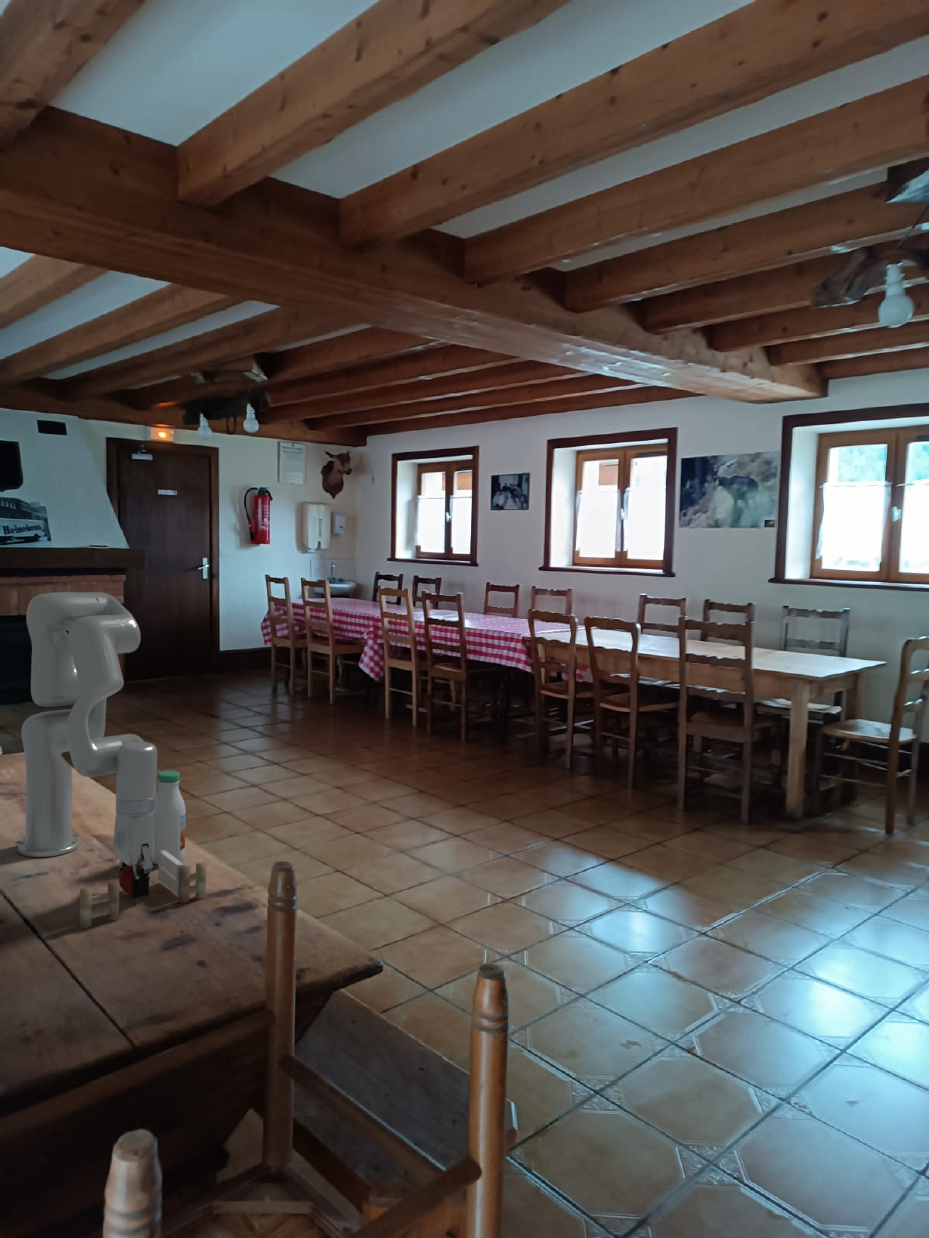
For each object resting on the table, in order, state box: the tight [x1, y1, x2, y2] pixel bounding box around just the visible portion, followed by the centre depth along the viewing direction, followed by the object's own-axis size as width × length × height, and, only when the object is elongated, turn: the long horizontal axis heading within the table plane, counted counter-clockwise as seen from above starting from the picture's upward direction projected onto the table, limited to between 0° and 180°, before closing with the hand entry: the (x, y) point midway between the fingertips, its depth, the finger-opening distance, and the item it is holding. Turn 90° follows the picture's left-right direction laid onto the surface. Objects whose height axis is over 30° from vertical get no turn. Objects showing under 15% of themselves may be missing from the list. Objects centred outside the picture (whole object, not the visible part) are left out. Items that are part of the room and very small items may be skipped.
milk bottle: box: [152, 770, 187, 866], centre depth 192 cm, size 8×8×20 cm
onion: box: [118, 860, 151, 897], centre depth 172 cm, size 6×6×8 cm
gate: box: [157, 850, 185, 897], centre depth 176 cm, size 10×1×6 cm, turn 42°
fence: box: [79, 861, 207, 929], centre depth 166 cm, size 2×24×7 cm, turn 131°
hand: (134, 890), depth 173 cm, fingers closed on onion, 5 cm apart
